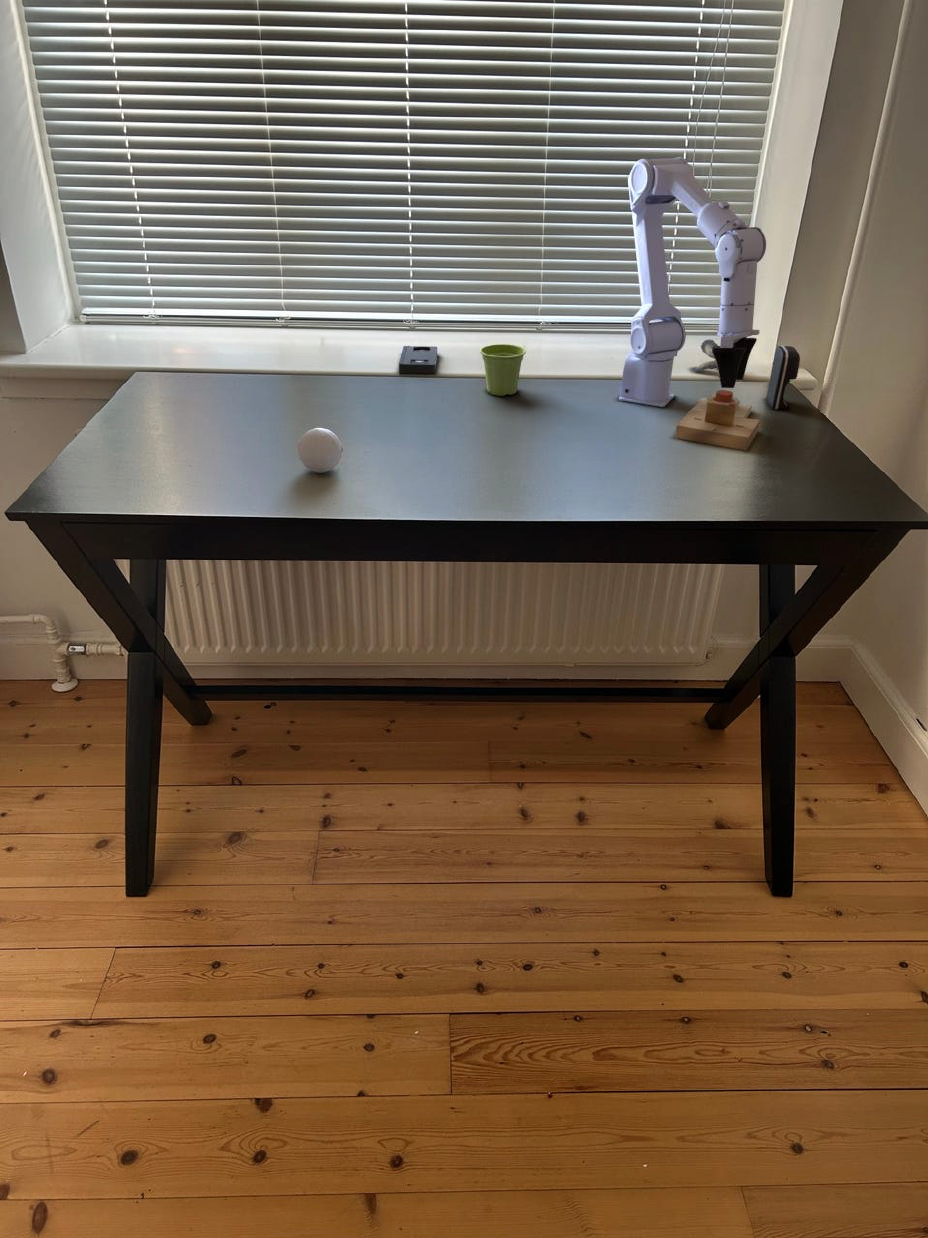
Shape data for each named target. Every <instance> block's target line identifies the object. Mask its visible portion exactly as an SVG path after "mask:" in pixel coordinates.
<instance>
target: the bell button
mask: <svg viewBox="0 0 928 1238" xmlns="http://www.w3.org/2000/svg"><path fill="white" fill-rule="evenodd" d="M715 395H716V396H715V401H717V402H723V403H730V402H732V397H734V392H733V391H732V390H731V391H730V390H726V389H718V390H716V392H715Z"/></svg>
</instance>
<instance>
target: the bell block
mask: <svg viewBox="0 0 928 1238" xmlns="http://www.w3.org/2000/svg"><path fill="white" fill-rule="evenodd" d="M715 396H716V394H711V395H708V397H707V398H706V397H701V398H700V400H699V401H697V403H696V404H695V405H694V406H693V407H692V409H693V410H700V411H706V409H707V403H708V401H709V400H711V401H715ZM731 403H736V410H735V416H737V417H743V418H748V417H749V416H750V414H751V413H752V408H753V405H751V404H744V403H741V400H740V398H738V397H735V396H733V397H732V402H731Z"/></svg>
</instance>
